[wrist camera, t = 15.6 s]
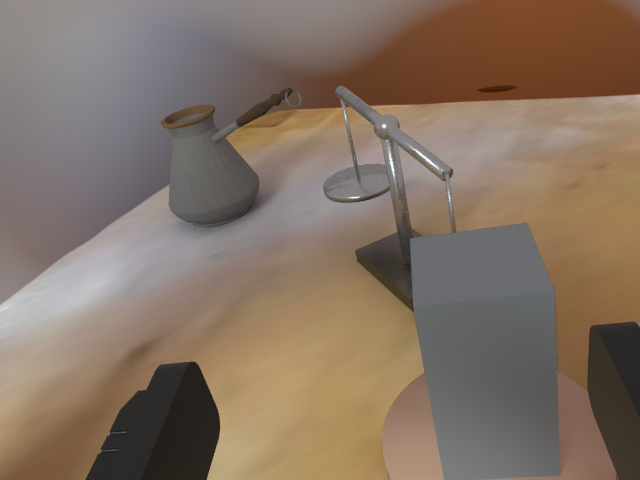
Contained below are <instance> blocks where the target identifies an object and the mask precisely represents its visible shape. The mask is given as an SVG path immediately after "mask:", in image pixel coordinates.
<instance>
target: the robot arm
mask: <svg viewBox="0 0 640 480" xmlns="http://www.w3.org/2000/svg"><path fill="white" fill-rule="evenodd" d="M588 394H589V400H590V404H591V408H592V412H593V415H594V417H595V420H596V423H597V425H598V428H599V430H600V433H601V435H602V438H603V440H604V443H605V445H606V448H607V450H608V453H609V456H610V458H611V461H612V463H613V466H614V468H615V471H616V473H617V476H618V478H619V480H640V327H639V326H638V324H637V323H635V322H625V323H614V324H604V325H593V326H591V328H590V333H589V356H588ZM219 434H220V418H219V412H218V409H217V407H216V404H215V402H214V400H213V397H212V395H211V393H210V390H209V388H208V386H207V383H206V381H205V379H204V376H203V374H202V372H201V369H200V367H199V366H198V364H197V363H196V362H184V363H173V364H162V365H160V366H159V367H158V368H157V369H156V371H155V373H154V375H153V377H152V379H151V381H150V383H149V386H148V388H147V390H142V391H138V392H137V393H136V394H135V395H134V396H133V397H132V398H131V399H130V400H129V401H128V402H127V403H126V404H125V406H124V407H123V408H122V409H121V410H120V412H119V414H118V416H117V418H116V420H115V422H114V424H113V426H112V428H111V430H110V435H109V436H107V438H106V440H105V442H104V444H103V446H102V448H101V453H100V454H98V456H97V458H96V460H95V462H94V464H93V466H92V468H91V470H90V472H89V474H88V476H87V478H86V480H207V476H208V473H209V470H210V466H211V463H212V459H213V456H214V453H215V449H216V446H217V443H218V439H219Z"/></svg>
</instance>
